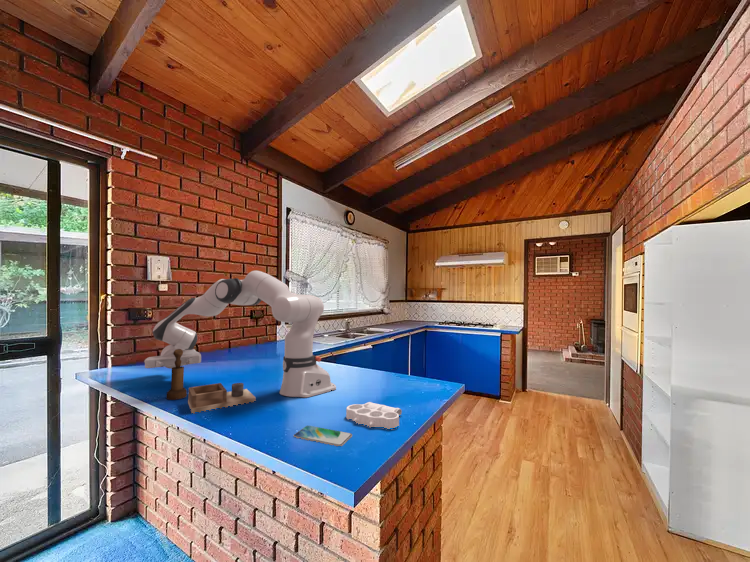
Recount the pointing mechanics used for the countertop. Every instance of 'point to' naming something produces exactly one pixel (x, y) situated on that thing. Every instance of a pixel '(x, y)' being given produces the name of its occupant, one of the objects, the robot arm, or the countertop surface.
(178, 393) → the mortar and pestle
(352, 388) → the countertop surface
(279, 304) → the robot arm
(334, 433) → the smartphone
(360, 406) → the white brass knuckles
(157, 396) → the countertop surface
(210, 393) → the holder stand
